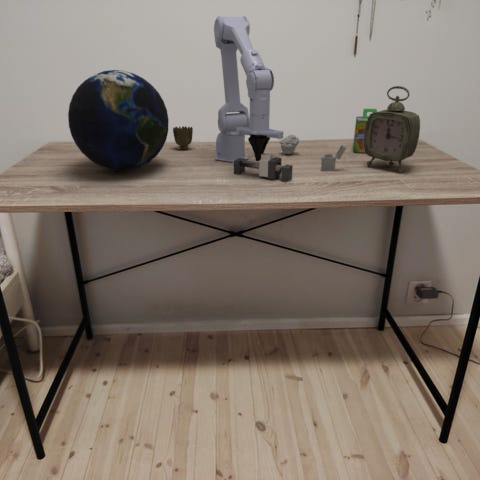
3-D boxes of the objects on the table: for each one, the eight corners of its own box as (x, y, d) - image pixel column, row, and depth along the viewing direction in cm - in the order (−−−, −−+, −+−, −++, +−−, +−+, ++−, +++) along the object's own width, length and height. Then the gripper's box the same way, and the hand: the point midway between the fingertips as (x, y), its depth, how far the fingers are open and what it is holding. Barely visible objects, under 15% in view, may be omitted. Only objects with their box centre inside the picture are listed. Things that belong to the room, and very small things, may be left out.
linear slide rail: (233, 173, 137) (233, 160, 135) (239, 170, 139) (239, 157, 138) (287, 182, 129) (287, 167, 127) (291, 178, 132) (292, 164, 130)
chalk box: (352, 153, 159) (357, 110, 152) (352, 147, 167) (356, 106, 160) (379, 154, 157) (384, 111, 151) (377, 148, 165) (383, 107, 159)
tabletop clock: (360, 166, 143) (370, 85, 132) (374, 160, 149) (384, 83, 138) (403, 175, 134) (417, 89, 123) (415, 168, 140) (429, 86, 129)
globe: (124, 152, 161) (114, 65, 148) (190, 164, 147) (185, 68, 134) (56, 173, 138) (36, 72, 125) (126, 189, 124) (112, 76, 111)
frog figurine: (298, 156, 154) (299, 137, 151) (278, 156, 155) (279, 136, 152) (298, 152, 160) (299, 133, 157) (279, 152, 161) (280, 132, 158)
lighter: (321, 171, 139) (323, 145, 135) (320, 169, 140) (322, 144, 137) (344, 171, 139) (346, 145, 135) (343, 169, 140) (345, 144, 137)
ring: (267, 178, 130) (268, 160, 128) (275, 173, 135) (275, 156, 132) (273, 179, 130) (274, 161, 127) (281, 174, 134) (281, 157, 131)
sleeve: (259, 175, 132) (259, 155, 129) (265, 171, 136) (266, 151, 133) (268, 177, 131) (268, 156, 128) (274, 173, 134) (275, 153, 132)
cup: (192, 151, 162) (191, 129, 158) (172, 151, 162) (171, 129, 159) (194, 146, 169) (193, 125, 165) (175, 146, 169) (174, 125, 165)
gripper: (230, 114, 127) (231, 160, 132) (276, 118, 120) (275, 166, 126) (242, 110, 132) (242, 155, 138) (286, 114, 126) (285, 160, 132)
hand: (259, 160), depth 133 cm, fingers closed
